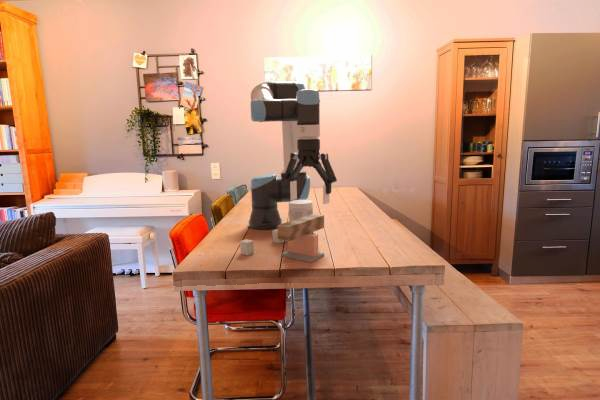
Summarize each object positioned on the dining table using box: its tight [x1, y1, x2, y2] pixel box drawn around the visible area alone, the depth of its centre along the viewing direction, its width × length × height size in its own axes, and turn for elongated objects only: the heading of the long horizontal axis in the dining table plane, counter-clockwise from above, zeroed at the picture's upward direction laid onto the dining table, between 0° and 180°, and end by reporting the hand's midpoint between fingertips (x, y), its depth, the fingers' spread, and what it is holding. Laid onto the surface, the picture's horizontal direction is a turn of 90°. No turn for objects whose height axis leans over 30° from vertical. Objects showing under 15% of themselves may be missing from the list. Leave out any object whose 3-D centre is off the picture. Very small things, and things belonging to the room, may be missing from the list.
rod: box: [276, 213, 325, 242], centre depth 120 cm, size 20×4×4 cm, turn 143°
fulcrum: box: [281, 233, 325, 264], centre depth 121 cm, size 12×8×8 cm, turn 53°
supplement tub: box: [288, 199, 315, 234], centre depth 143 cm, size 10×10×15 cm
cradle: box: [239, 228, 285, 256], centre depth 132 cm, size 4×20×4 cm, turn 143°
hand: (309, 201), depth 122 cm, fingers open, 13 cm apart
